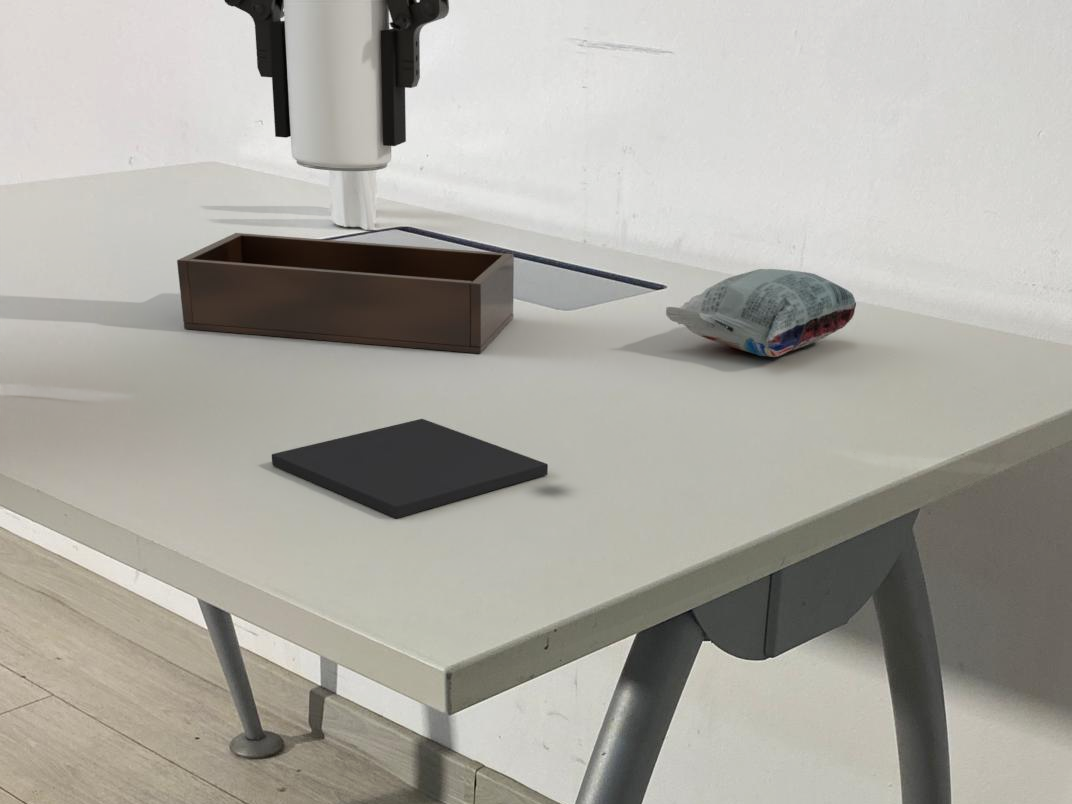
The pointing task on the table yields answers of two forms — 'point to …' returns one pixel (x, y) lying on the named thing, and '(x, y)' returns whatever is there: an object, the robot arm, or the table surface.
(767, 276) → the packaged food
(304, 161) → the can
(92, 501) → the table surface
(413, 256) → the brown wooden box
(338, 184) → the white ridged upright piece
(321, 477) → the mat
